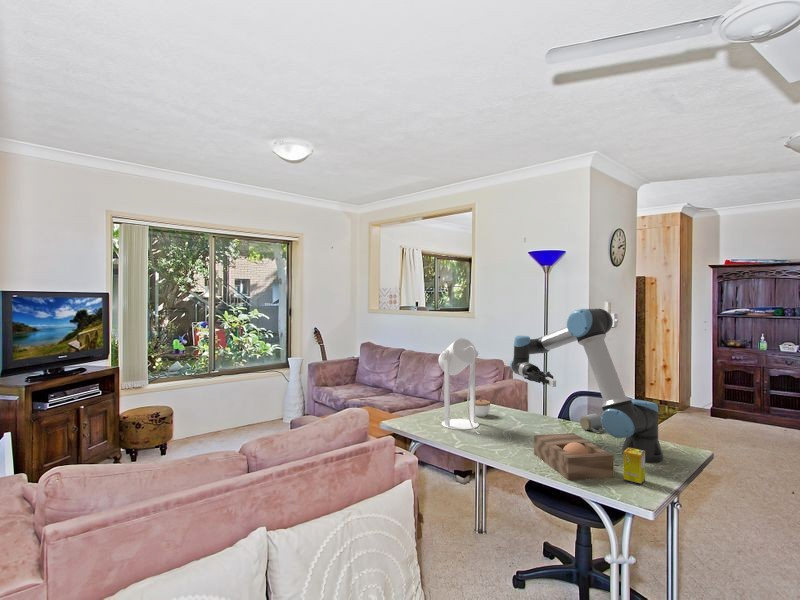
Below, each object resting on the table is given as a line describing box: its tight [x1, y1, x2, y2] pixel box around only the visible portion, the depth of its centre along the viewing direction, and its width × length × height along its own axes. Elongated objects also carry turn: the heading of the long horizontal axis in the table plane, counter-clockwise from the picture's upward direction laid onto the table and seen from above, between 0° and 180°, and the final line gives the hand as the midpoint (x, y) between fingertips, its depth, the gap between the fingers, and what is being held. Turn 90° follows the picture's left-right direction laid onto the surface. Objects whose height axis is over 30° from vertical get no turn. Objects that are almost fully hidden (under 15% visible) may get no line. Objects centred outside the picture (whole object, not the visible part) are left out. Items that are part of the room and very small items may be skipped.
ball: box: [563, 442, 589, 455], centre depth 180 cm, size 10×10×10 cm
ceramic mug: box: [579, 413, 604, 433], centre depth 231 cm, size 11×8×8 cm
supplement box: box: [622, 448, 646, 486], centre depth 168 cm, size 6×6×11 cm
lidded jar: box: [475, 398, 491, 418], centre depth 260 cm, size 11×11×9 cm
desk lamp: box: [438, 337, 481, 435], centre depth 239 cm, size 21×32×45 cm, turn 28°
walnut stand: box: [533, 432, 615, 481], centre depth 184 cm, size 28×18×8 cm, turn 9°
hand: (554, 383), depth 199 cm, fingers closed
